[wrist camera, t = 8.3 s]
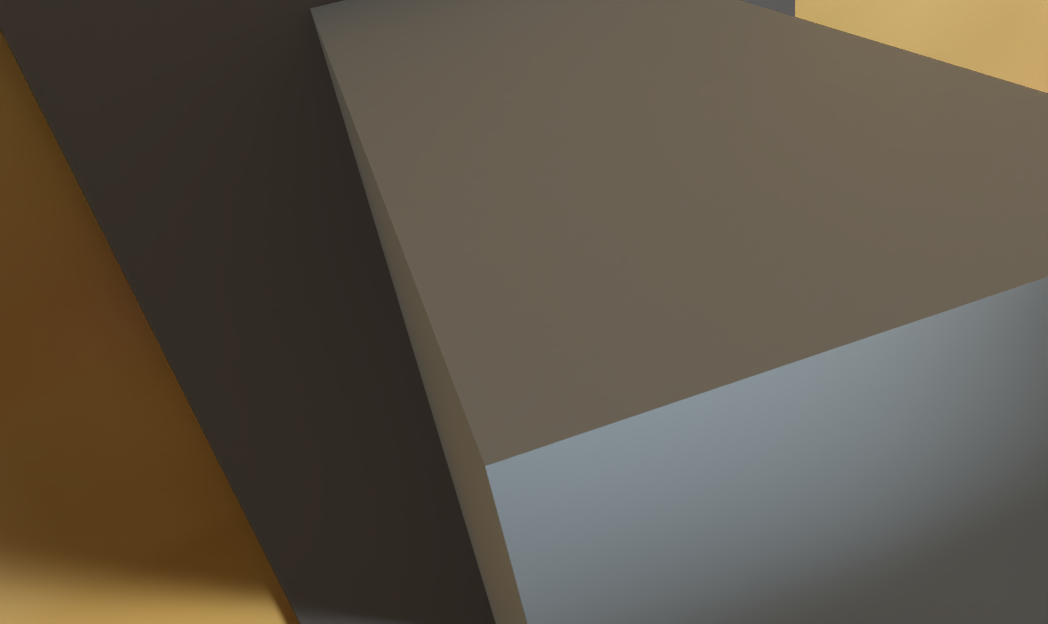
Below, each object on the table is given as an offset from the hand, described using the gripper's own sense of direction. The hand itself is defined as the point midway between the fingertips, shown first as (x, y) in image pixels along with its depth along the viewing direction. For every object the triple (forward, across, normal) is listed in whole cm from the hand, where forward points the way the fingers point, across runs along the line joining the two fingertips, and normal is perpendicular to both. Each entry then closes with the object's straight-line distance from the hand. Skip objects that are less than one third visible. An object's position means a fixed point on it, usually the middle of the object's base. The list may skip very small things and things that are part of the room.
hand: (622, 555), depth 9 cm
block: (+4, 0, 0) cm, 4 cm away
